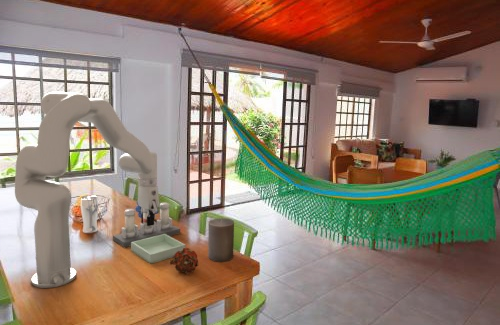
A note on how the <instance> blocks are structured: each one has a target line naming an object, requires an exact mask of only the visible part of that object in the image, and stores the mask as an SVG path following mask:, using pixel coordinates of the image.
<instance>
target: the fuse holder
mask: <svg viewBox="0 0 500 325" xmlns="http://www.w3.org/2000/svg"><path fill="white" fill-rule="evenodd" d="M152 227H153V232H152V233H149V234H145V233H144V224H143V223H141V222H140V223H139V225H137V224H135V237H133V238H126V229H125V226H123V227H121V233H117V234H113V235H112V241H114V242H115V243H116V244H118V245H120V246H121V247H122V248H127V247H131V242H134V241H138V240H142V239H146V238H150V237H154V236H158V235H162V234H166V235H168V236H170V237H172V236H175V235H178V233H179V234H181V228H180V227H178V226H176V225H173V218H171V217H170V216H169V229H165V230H162V229H161V221H160V219H156V221H154V225H152ZM174 234H175V235H174Z"/></svg>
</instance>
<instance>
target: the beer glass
mask: <svg viewBox="0 0 500 325" xmlns="http://www.w3.org/2000/svg"><path fill="white" fill-rule="evenodd" d="M98 198H99V197H98V196H96V195H84V196H81V198H80V212H81V216H82V222H83V225H82V226H83V227H82V233H84V234H94V233H96V232H98V231H99V229H98V223H97V222H98V215H99V199H98Z"/></svg>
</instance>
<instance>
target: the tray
mask: <svg viewBox="0 0 500 325" xmlns="http://www.w3.org/2000/svg"><path fill="white" fill-rule="evenodd" d="M183 248H186V244H185V243H183V242H181V241H179V240H178V239H176V238H174V237H172V236H168V235H166V234H162V235H158V236H154V237H150V238H146V239H142V240H138V241H134V242H131V246H130V251H131V252H132V253H133V254H135V255H137V256H138V257H139V258H141V259H142V260H144V261H146V262H147V263H149V264H150V265H152V264H155V263H158V262H161V261H162V262H163V261H165V260H168V259H173V258H172V257H174V254H175V253H176V252H177V251H182V250H183ZM174 258H175V257H174Z"/></svg>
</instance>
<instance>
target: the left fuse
mask: <svg viewBox="0 0 500 325" xmlns="http://www.w3.org/2000/svg"><path fill="white" fill-rule="evenodd" d="M135 225H136V210H135V209H134V208H126V209H125V210H124V228H125V229H126V238H133V237H135Z"/></svg>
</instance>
